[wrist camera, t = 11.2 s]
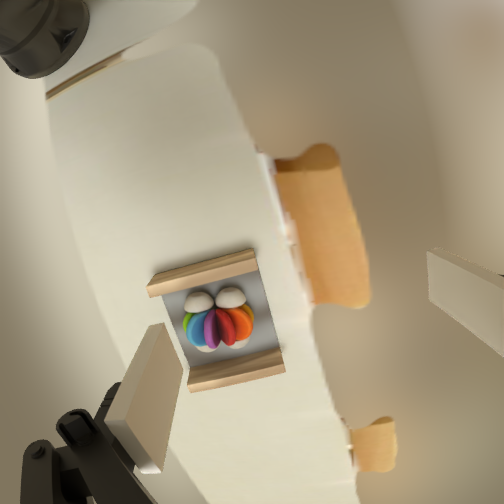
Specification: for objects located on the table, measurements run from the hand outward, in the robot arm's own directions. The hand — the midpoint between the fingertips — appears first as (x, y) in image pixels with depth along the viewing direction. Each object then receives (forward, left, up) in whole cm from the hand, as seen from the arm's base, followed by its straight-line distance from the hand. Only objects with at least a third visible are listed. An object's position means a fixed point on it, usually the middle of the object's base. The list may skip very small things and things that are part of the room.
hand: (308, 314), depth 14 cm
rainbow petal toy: (+11, -9, -28) cm, 32 cm away
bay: (+12, -9, -29) cm, 32 cm away
